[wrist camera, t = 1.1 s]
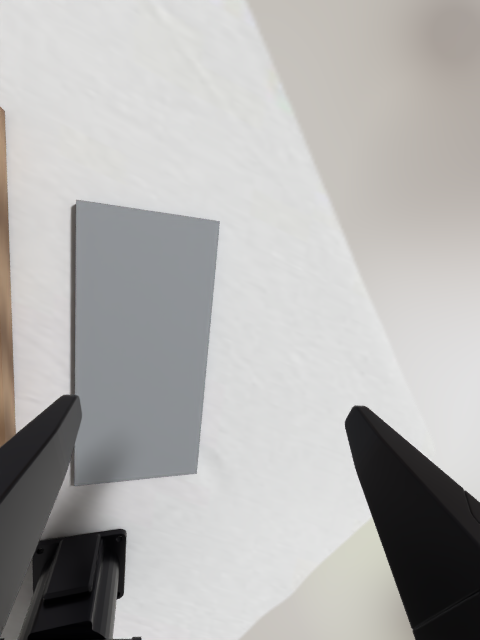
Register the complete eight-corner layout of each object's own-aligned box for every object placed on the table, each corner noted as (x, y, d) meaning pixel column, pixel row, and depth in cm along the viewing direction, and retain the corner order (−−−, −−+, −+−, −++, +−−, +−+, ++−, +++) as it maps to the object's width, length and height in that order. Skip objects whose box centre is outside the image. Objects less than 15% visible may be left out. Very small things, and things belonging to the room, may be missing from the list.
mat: (195, 470, 25) (196, 473, 25) (75, 482, 22) (74, 486, 22) (218, 221, 21) (219, 221, 21) (77, 200, 19) (76, 199, 18)
